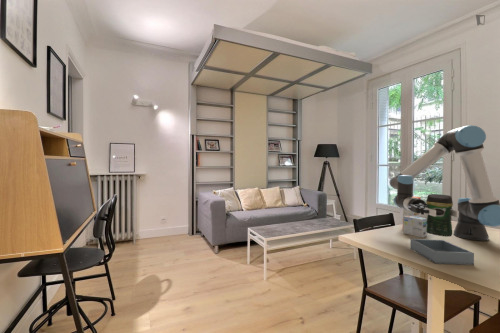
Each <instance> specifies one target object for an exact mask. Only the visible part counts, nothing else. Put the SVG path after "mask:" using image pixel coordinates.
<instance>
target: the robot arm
mask: <svg viewBox="0 0 500 333" xmlns="http://www.w3.org/2000/svg"><path fill="white" fill-rule="evenodd" d="M486 134H487V133H486V132H485V131H484V129H482V128H481V127H480V126H478V125H464V126H461V127H457V128H453V129H450V130H448V131H447V132H445V133H444V134H442V136H440V137H439V138H438V139H437V140H436V141H434V143H433V146H431V147H430V149H428V150H427V151H426V152H424V153H423V154H421V156H419V157H418V158H417V159H416V160H414V161H413V162H412V163H411V164H409V165H408V166H407V167H406V168H404V169H403V170H402V171H401V172H400V173H398V174H397V175H396V176H393V177H391V178H390V180H389V181H388V182H389V186H390V187H391V188H392V189H394V190H397V191H396V195H395V196H394V198H393V204H394V206H396V207H398V208H400V209H402V210H403V209H407V210H410V211H411V212H415V213H420V215H421V216H422V215H427V216H428V215H431V216H434V217H436V210H433V209H429V208H428V206H427V203H426V201H424V199H418V198H414V197H415V196H414V195H413V189H414V188H413V187H414V179H415V178H417V177H418V176H419V175H420V174H422V173H423V172H425V171H426V170H427V169H428V168H430V167H431V166H432V165H433V164H434V163H436V162H437V161H438V160H440V159H441V158H443V156H444V155H449V154H450V153H452V152H453V151H454V152H455V154H456V155H459V158H460V160H461V165H462V169H463V171H464V176H465V180H466V183H467V187H468V190H469V193H470V197H460V198H458V200H457V210H456V209H453V208H451V217H455V218H457V222H456V225H455V227H454V230H453V236H456V237H458V238H461V239H466V240H471V241H477V242H478V241H479V242H480V241H481V242H484V241H485V240H487V241H489V237H490V236H489V234H488V232H487V228H486V227H492V228H493V227H500V199H499V198H498V197H496V196H494V193H493V190H492V186H491V183H490V180H489V176H488V172H487V169H486V164H485V162H484V158H483V155H482V151H483V150H484V149H485V147H484V144H483V143H485V141H486V139H487V135H486ZM412 196H413V197H412Z"/></svg>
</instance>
